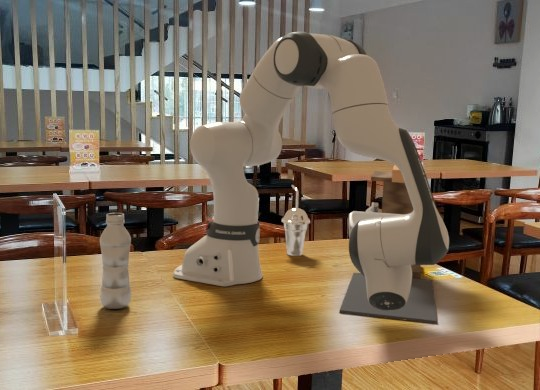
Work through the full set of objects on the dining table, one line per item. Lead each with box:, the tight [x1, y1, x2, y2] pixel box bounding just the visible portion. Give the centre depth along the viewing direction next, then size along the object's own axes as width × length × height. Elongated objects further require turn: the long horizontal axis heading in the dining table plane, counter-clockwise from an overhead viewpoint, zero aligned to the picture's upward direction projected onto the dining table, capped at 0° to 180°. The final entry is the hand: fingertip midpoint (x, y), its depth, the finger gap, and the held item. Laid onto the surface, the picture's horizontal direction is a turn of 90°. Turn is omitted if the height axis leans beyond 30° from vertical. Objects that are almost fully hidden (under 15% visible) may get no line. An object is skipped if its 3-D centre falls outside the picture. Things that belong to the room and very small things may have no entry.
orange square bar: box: [391, 164, 405, 183], centre depth 150 cm, size 3×20×3 cm, turn 166°
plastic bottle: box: [99, 212, 133, 310], centre depth 123 cm, size 6×7×20 cm
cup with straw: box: [281, 184, 311, 257], centre depth 173 cm, size 8×9×20 cm
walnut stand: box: [370, 170, 428, 279], centre depth 158 cm, size 14×14×26 cm
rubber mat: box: [338, 272, 437, 324], centre depth 138 cm, size 20×30×1 cm, turn 166°
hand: (396, 205), depth 135 cm, fingers open, 8 cm apart
